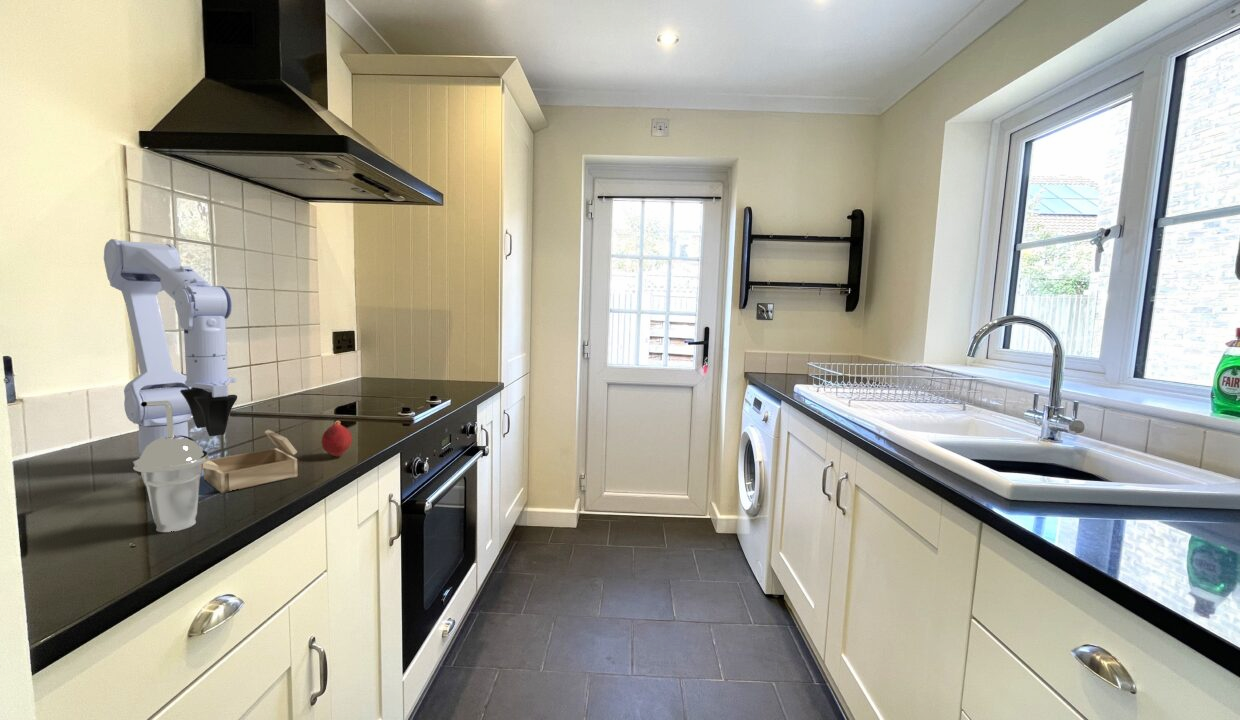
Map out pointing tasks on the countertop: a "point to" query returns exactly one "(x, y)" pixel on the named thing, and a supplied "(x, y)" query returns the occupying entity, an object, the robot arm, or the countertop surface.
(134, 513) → the countertop surface
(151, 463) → the cup with straw
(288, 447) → the flap
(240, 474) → the carton
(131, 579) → the countertop surface
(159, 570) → the countertop surface
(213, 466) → the flap
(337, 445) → the red rounded oval piece
